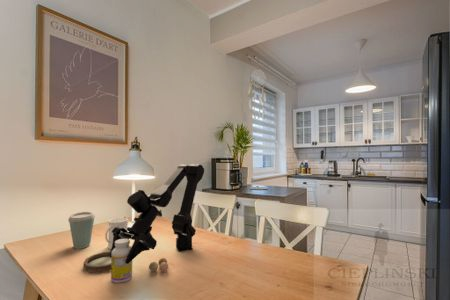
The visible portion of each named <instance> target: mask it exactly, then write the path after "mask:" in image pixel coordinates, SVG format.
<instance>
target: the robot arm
mask: <svg viewBox="0 0 450 300" xmlns="http://www.w3.org/2000/svg"><path fill="white" fill-rule="evenodd" d="M204 174H205V168H204V166H203V165H202V164H191V163H190V164H179V165H178V166H177V168H176V169H175V171H174V172H173V173H172V174H171V175H170V177H169V178H168V179H167V180H166V182H165V183H163V185H162V186H160V187H158V188H156V189H155V190H153V192H152V193H150V194H149V195H147V194H146V192H145V190H143V189H138V191H136V192H134V193H132V194H131V195H130V196H128V198H127V201H126V204H128V205H129V206H130V207H131V208H132V210H134V211H135V212H136V213H137V214H139V215H138V216H137V217H134V218H133V221H134V222H133V224H132V226H130V227H129V226H128V228H127V230H128V231H127V230H125V229H124V228H122V227H118V226H117V227H115V228H114V229H113V230H112V233H113V236H114V237H113V244H112V248H111V249H110V251H111V253H110V257H111V254H112V250H113V249H114V248H115V241H116V240H119V239H129V240H133V243H132V245H131V246H130V247H131V250H130V252H129V254H128V256H127V259H126V261H125V263H126V264H128V263H129V262H131V261H132V262H133V260H134V259H136V257H137V256H138V255H140V254H141V253H143V252H144V251H150V249H151V250H155V248H156V246H157V239H156V238H154V237H153V235H152V233H151V232H152V230H153V227H152V225H153V223H154V221H155V220H156V219H157V217H160V218H162V217H163V214H162V209H159V208H165V207H168V205H169V204H170V202H171V200H172V197H173V193H174V191H175V190H176V189H177V187H178V186H179V184H181V182H182V181H183V180H184V178H185V177H186V185H185V186H186V187H185V189H184V193H183V198H182V202H181V205H180V210H179V211H178V213H177V214H173V218H172V221H171V224H172V225H171V228H172V231H173V234H174V235H176V238H175V248H176V249H177V251H178V252H185V251H193V250H194V248H193V237H194V236H195V235H196V228H195V227H194V226H193V218H192V215H191V212H192V208H193V204H194V200H195V196H196V192H197V187H198V184H199V183H200V181H202V179H203V176H204ZM157 207H158V208H157Z"/></svg>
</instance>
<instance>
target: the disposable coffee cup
mask: <svg viewBox="0 0 450 300" xmlns="http://www.w3.org/2000/svg"><path fill="white" fill-rule="evenodd" d="M67 220H68V223H69V227H70V232H71V234H70V235H71V239H72V246H73V248H74V249H79V250H80V249H85V248H87V247H89V246H90V245H91V242H92V235H93V228H94V222H95V221H94V220H95V214H94V213H93V212H92V211H79V212H75V213H72V214H70V215H69V217H68V219H67Z"/></svg>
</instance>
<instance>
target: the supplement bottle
mask: <svg viewBox="0 0 450 300" xmlns="http://www.w3.org/2000/svg"><path fill="white" fill-rule="evenodd" d="M130 241H131V239H119V240H116V241H115V248H114V249H113V250H112V254H111V271H110V280H111V282H112V283H115V284H121V283H125V282H128V281H129V280H131V278H133V260H132V261H131V262H129V263H128V264H126V263H125V261H126V259H127V256H128V254H129V252H130V250H131V247H132V246H130V244H131V242H130Z"/></svg>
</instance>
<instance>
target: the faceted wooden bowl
mask: <svg viewBox="0 0 450 300" xmlns="http://www.w3.org/2000/svg"><path fill="white" fill-rule="evenodd" d="M110 253H111V250H110V251H102V252H99V253H95V254H93V255H90V256H89V257H86V258H85V260H84V261H83V267H82V268H83V271H85V272H86V273H91V274H98V273H99V274H100V273H107V272H111V257H110Z"/></svg>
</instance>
